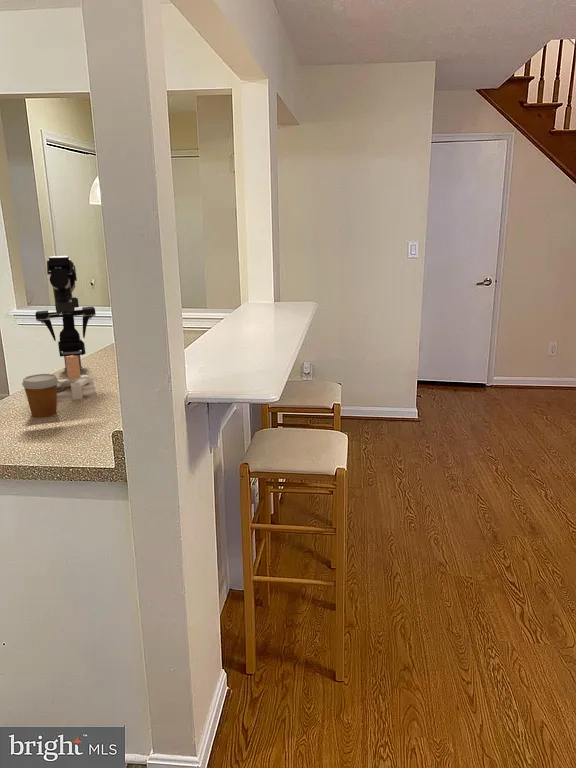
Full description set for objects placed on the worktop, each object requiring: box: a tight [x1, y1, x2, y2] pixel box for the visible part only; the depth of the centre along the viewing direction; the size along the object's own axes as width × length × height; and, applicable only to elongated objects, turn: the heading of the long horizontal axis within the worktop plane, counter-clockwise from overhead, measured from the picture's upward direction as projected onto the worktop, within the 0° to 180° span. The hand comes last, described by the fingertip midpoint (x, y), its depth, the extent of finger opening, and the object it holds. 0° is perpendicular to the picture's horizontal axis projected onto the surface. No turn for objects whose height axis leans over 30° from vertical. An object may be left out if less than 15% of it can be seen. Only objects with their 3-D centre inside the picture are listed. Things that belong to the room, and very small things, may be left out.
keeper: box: [71, 379, 88, 401], centre depth 183 cm, size 8×5×4 cm
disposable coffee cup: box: [21, 373, 59, 419], centre depth 165 cm, size 10×10×12 cm
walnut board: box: [57, 378, 98, 403], centre depth 189 cm, size 24×15×1 cm, turn 22°
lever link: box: [57, 355, 90, 390], centre depth 192 cm, size 4×14×10 cm, turn 142°
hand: (69, 339), depth 195 cm, fingers open, 9 cm apart
